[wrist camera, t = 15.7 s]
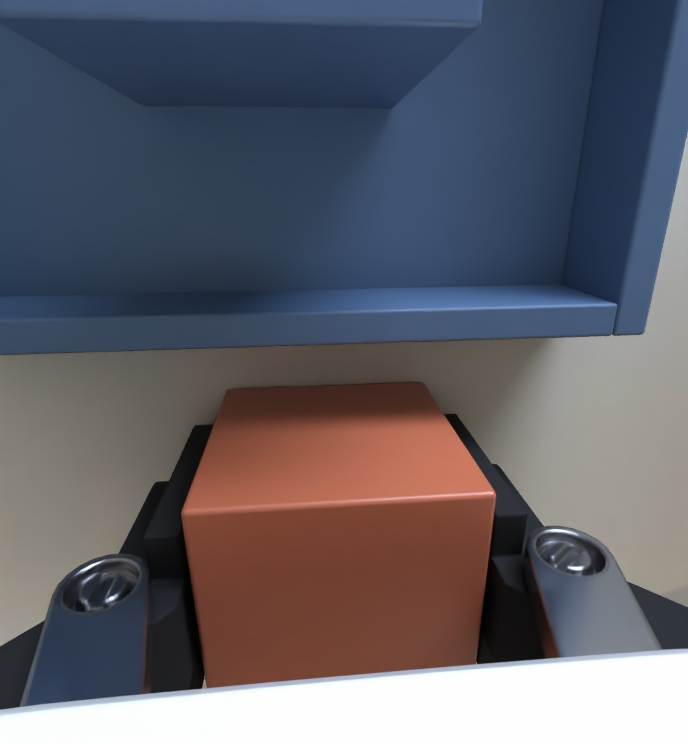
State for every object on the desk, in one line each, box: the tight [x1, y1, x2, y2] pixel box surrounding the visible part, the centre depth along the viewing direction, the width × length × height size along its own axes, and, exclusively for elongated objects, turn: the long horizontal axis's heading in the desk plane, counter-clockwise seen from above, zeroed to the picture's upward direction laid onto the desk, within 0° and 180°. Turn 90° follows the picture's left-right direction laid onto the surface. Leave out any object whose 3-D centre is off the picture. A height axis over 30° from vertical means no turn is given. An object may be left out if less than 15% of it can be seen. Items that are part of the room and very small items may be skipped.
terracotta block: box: [181, 382, 496, 688], centre depth 10 cm, size 4×4×4 cm
